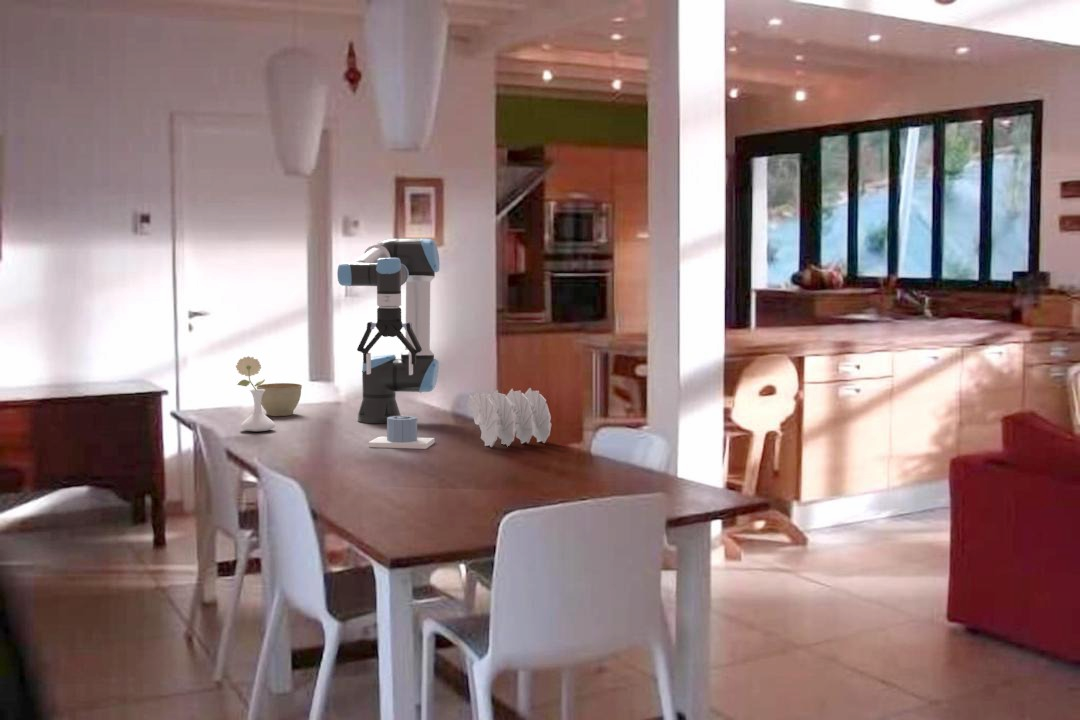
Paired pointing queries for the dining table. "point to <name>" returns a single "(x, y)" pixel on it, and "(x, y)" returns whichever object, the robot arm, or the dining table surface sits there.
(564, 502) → the dining table surface
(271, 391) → the planter bowl
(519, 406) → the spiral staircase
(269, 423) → the flower in vase
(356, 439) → the dining table surface
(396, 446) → the post stand
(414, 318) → the robot arm
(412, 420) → the hub ring
